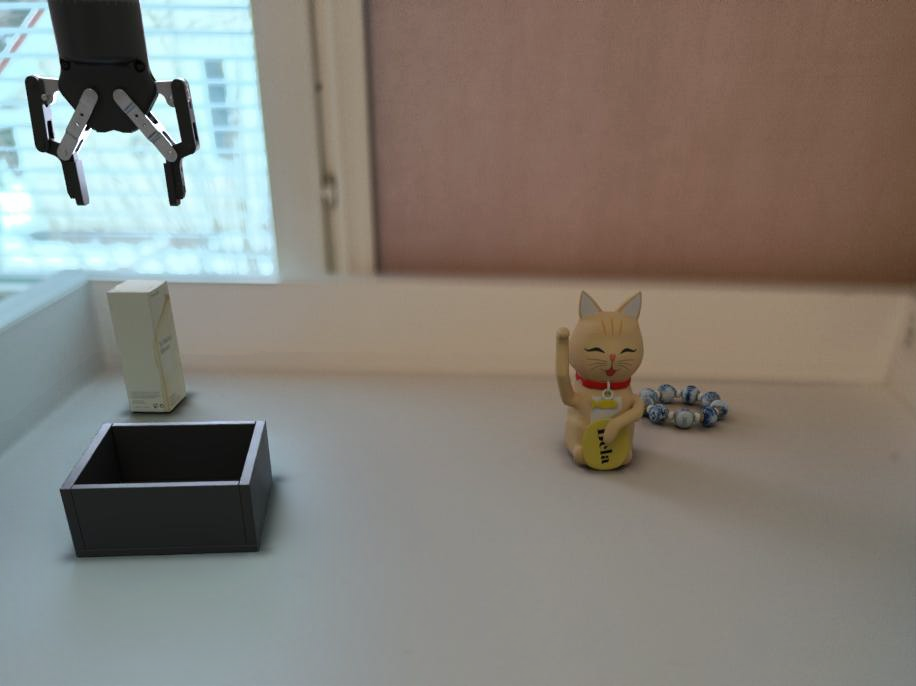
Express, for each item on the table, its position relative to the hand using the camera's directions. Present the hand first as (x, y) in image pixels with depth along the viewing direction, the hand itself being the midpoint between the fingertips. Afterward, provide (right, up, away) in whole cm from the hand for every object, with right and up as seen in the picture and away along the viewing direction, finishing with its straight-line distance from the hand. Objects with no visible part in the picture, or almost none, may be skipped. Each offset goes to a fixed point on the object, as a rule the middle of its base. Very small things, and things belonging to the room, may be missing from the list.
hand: (129, 204), depth 87 cm
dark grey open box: (+9, -31, -11) cm, 34 cm away
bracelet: (+55, -17, +12) cm, 59 cm away
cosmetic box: (-1, -16, +11) cm, 20 cm away
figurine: (+44, -24, +2) cm, 50 cm away
